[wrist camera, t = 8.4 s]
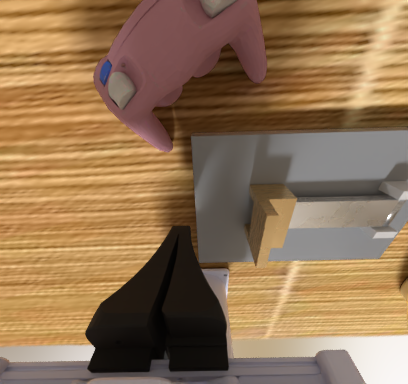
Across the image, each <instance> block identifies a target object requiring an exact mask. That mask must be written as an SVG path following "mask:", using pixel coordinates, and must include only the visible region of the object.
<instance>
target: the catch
mask: <svg viewBox="0 0 408 384" xmlns="http://www.w3.org/2000/svg"><path fill="white" fill-rule="evenodd" d="M249 194H250V196H251V198H252V200H253V202H254V205H253V212H252V218H251V224H245V227H244V231H245V234H246V238H247V241H248V244H249V247H250V250H251V253H252V257H253V260H254V263H255V266H256V268H266V265H267V261H268V258H269V254H270V250H271V248H283V244H284V241H285V238H286V234H287V231H288V228H289V224H290V221H291V218H292V215H293V211H294V208H295V205H296V201H297V198H296V197H295V196H294V195H293V193H292V192H291V191H290V190H289V189H288V188H287V187H286V186H285V185H284V184H257V185H250V187H249Z"/></svg>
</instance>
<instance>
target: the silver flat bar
mask: <svg viewBox="0 0 408 384" xmlns="http://www.w3.org/2000/svg"><path fill="white" fill-rule="evenodd" d="M296 198H297V201H296V205H295V208H294V211H293V215H292V218H291V221H290V224H289V228H288V229H291V228H341V227H388V226H389V225H390V223H391V222H392V220H393V219H394V217H395V216H396V215H397V213H398V212H399V210H400V209H401V207H402V206H403V205H404V203H405V202H406V200H398V199H396V198H394V197H392V196H390V195H381V196H337V197H296Z"/></svg>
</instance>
